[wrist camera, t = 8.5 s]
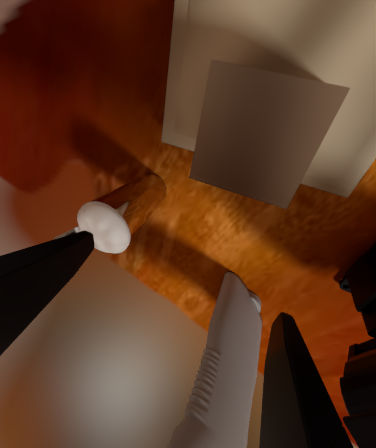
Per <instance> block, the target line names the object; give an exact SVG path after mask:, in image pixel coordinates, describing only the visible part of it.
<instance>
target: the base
mask: <svg viewBox="0 0 376 448" xmlns="http://www.w3.org/2000/svg"><path fill="white" fill-rule="evenodd" d="M211 59H214V60H219V61H224V62H229V63H234V64H238V65H243V66H248V67H253V68H258V69H262V70H267V71H272V72H277V73H282V74H286V75H291V76H296V77H301V78H306V79H310V80H315V81H320V82H325V83H329V84H334V85H339V86H344V87H349V88H350V90H349V92H348V94H347V96H346V97H345V99H344V101H343V103H342V105H341V107H340V109H339V111H338V113H337V115H336V116H335V118H334V120H333V122H332V124H331V126H330V128H329V130H328V132H327V134H326V135H325V137H324V139H323V141H322V143H321V145H320V147H319V149H318V151H317V153H316V154H315V156H314V158H313V160H312V162H311V164H310V166H309V168H308V170H307V172H306V173H305V175H304V177H303V179H302V181H301V183H300V184H303V185H306V186H309V187H313V188H316V189H319V190H323V191H326V192H329V193H333V194H336V195H339V196H343V197H346V198H348V197H349V195H350V194H351V192H352V191H353V190H354V188H355V187H356V185H357V184H358V183H359V181H360V180H361V178H362V177H363V175H364V174H365V173H366V171H367V170H368V168H369V167H370V166H371V164H372V163H373V161H374V160H375V158H376V0H175V5H174V15H173V26H172V36H171V47H170V57H169V68H168V78H167V89H166V99H165V110H164V120H163V131H162V141H161V142H164V143H167V144H170V145H174V146H177V147H180V148H184V149H187V150H190V151H194V150H195V145H196V139H197V134H198V128H199V123H200V117H201V112H202V107H203V101H204V96H205V90H206V85H207V80H208V74H209V69H210V63H211Z"/></svg>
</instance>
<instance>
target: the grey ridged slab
mask: <svg viewBox="0 0 376 448" xmlns="http://www.w3.org/2000/svg"><path fill="white" fill-rule="evenodd" d="M260 309H261V301H260V299H259V298H258V296H256V295H255V294H254V293H252V292H250V291H249V290H248V288H247V287H246V286H245V284H244V283H243V281H242V280H241V279H240V277H239V276H238V275H236V274H235V273H233V272H230V271H228V272H227V273H225V276H224V279H223V283H222V286H221V289H220V292H219V295H218V299H217V302H216V305H215V308H214V312H213V315H212V318H211V321H210V325H209V331H208V337H207V344H206V349H205V350H204V354H203V356H202V359H201V365H200V367H199V370H198V374H197V375H196V380H195V382H194V387H193V389H192V394H191V395H190V397H189V402H188V403H187V405H186V408H185V418H184V419H183V420H182V421H181V422H180V424H179V425H178V426H177V427H176V428H175V430H174V432H173V435H172V437H171V440H170V442H169V445H168V448H247V439H248V427H249V419H250V411H251V404H252V396H253V391H254V387H255V382H256V375H257V367H258V358H259V348H260V339H261V330H262V319H261V316H260Z"/></svg>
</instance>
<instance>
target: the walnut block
mask: <svg viewBox="0 0 376 448" xmlns="http://www.w3.org/2000/svg"><path fill="white" fill-rule="evenodd" d="M349 90H350V88H349V87H344V86H339V85H334V84H329V83H325V82H320V81H315V80H310V79H306V78H301V77H296V76H291V75H286V74H282V73H277V72H272V71H267V70H262V69H258V68H253V67H248V66H243V65H238V64H234V63H229V62H224V61H219V60H214V59H211V63H210V69H209V74H208V80H207V85H206V90H205V96H204V101H203V107H202V112H201V117H200V123H199V128H198V134H197V139H196V145H195V150H194V155H193V161H192V166H191V172H190V177H189V178H191V179H194V180H197V181H200V182H203V183H206V184H209V185H212V186H216V187H219V188H222V189H225V190H228V191H231V192H234V193H237V194H240V195H243V196H246V197H250V198H253V199H256V200H259V201H262V202H265V203H268V204H271V205H274V206H277V207H280V208H284V209H287V208H288V206H289V204H290V202H291V200H292V198H293V196H294V194H295V192H296V191H297V189H298V187H299V185H300V183H301V181H302V179H303V177H304V175H305V173H306V172H307V170H308V168H309V166H310V164H311V162H312V160H313V158H314V156H315V154H316V153H317V151H318V149H319V147H320V145H321V143H322V141H323V139H324V137H325V135H326V134H327V132H328V130H329V128H330V126H331V124H332V122H333V120H334V118H335V116H336V115H337V113H338V111H339V109H340V107H341V105H342V103H343V101H344V99H345V97H346V96H347V94H348V92H349Z"/></svg>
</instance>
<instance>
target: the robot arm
mask: <svg viewBox="0 0 376 448" xmlns="http://www.w3.org/2000/svg"><path fill="white" fill-rule="evenodd" d="M94 246H95V244H94V236H93V234H92V233H91V232H88V231H81V232H77V233H74V234H71V235H68V236H64V237H61V238H58V239H54V240H51V241H48V242H45V243H41V244H39V245H35V246H32V247H28V248H25V249H22V250H18V251H15V252H12V253H9V254H5V255H2V256H0V356H1V355H2V353H3V352H4V351H5V350H6V349H7V348H8V347H9V346H10V345H11V344H12V342H13V341H14V340H15V339H16V338H17V337H18V336H19V335H20V334H21V333H22V332H23V331H24V329H25V328H26V327H27V326H28V325H29V324H30V323H31V322H32V321H33V320H34V318H36V316H37V315H38V314H39V313H40V312H41V311H42V310H43V309H44V308H45V307H46V305H47V304H48V303H49V302H50V301H51V300H52V299H53V298H54V297H55V296H56V294H58V292H59V291H60V290H61V289H62V288H63V287H64V286H65V285H66V284H67V283H68V282H69V280H70V279H71V278H72V277H73V276H74V275H75V274H76V272H77V271H78V270H79V268H80V267H81V266H82V264H83V263H84V262H85V260H86V259H87V258H88V256H89V255H90V254H91V252H92V251H93V249H94ZM345 285H346V286H345ZM339 286H340V288H341V289H342V290H344V291H347V292H350V293H351V294H352V297H353V301H354V304H355V307H356V310H357V311H358V312H361V313H362V316H363V320H364V323H365V326H366V329H367V332H368V335H369V336H371V337H374V339H371V340H368V341H366V342H363V343H360V344H354V345H351V346H350V347H349V353H348V361H347V362H346V363H345V368H344V374H343V375H344V377H341V378H340V387H341V393H342V397H343V400H344V403H345V406H346V409H347V411H348V414H349V416H345V417H343V421H344V423H345V425H346V426H347V428H348V430H349V431H350V433H351V434H352V436H353V438H354V439H355V441H356V443H357V445H358V447H359V448H376V243H375V244H374V245H373V246H372V247H371V248H370V250H369V251H368V252H367V253H366V254H364V255H362V256H361V257H360V258H359V259H358V261H357V262H356V263H355V264H354V265H353V266H352V267H351V268H350V269H349V270H348V271H347V272H346V275H345V276H344V277H343V279H342V280H341V281H340V282H339ZM259 448H353V446H352V444H351V441H350V439H349V437H348V435H347V433H346V431H345V428H344V427H343V426H342V422H341V420H340V418H339V416H338V413H337V411H336V409H335V407H334V405H333V403H332V401H331V398H330V396H329V394H328V392H327V390H326V388H325V385H324V383H323V381H322V379H321V377H320V375H319V372H318V370H317V368H316V366H315V364H314V362H313V359H312V357H311V355H310V353H309V351H308V349H307V346H306V344H305V342H304V340H303V338H302V336H301V333H300V331H299V329H298V327H297V325H296V323H295V320H294V318H293V317H292V316H291V315H289V314H287V313H284V312H281V313H280V314H279V315H278V317H277V318H276V319H275V321H274V322H273V324H272V327H271V333H270V338H269V344H268V349H267V354H266V360H265V369H264V383H263V399H262V415H261V430H260V447H259Z"/></svg>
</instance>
